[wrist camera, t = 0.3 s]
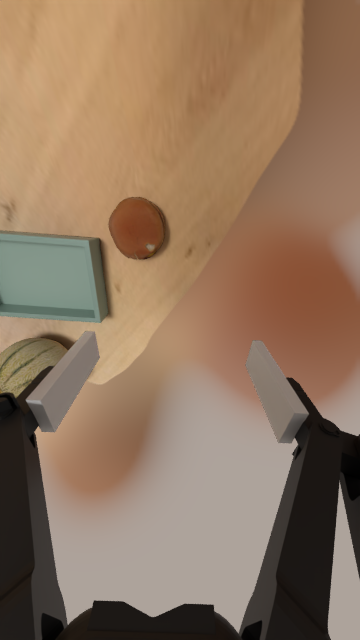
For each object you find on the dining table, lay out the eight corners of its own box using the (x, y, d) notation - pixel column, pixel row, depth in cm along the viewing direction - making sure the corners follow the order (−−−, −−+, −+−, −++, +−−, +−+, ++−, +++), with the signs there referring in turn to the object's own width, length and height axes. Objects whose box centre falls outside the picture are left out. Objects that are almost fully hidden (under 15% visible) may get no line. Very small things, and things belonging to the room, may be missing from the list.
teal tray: (-30, 228, 35) (-58, 229, 31) (98, 238, 35) (88, 240, 31) (2, 306, 43) (-16, 314, 39) (108, 313, 43) (100, 322, 39)
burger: (125, 187, 32) (116, 182, 28) (174, 216, 34) (173, 215, 30) (108, 242, 36) (98, 245, 32) (152, 265, 38) (148, 271, 34)
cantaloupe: (95, 363, 50) (64, 415, 37) (51, 377, 53) (7, 429, 40) (60, 318, 44) (8, 361, 31) (12, 336, 46) (-56, 382, 33)
